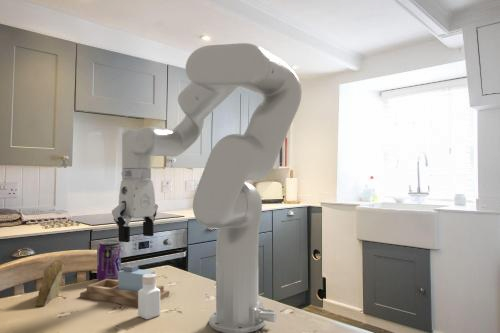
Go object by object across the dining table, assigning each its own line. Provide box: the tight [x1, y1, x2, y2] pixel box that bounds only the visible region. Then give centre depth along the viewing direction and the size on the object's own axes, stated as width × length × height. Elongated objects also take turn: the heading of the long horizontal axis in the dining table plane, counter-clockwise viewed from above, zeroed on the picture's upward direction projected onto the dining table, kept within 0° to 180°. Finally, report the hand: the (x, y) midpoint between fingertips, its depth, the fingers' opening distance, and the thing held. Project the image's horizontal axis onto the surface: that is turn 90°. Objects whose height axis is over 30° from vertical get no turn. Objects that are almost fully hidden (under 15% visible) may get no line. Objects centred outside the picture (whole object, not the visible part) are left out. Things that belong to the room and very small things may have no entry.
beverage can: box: [96, 239, 122, 281], centre depth 116 cm, size 7×7×12 cm
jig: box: [79, 279, 170, 307], centre depth 99 cm, size 22×10×3 cm, turn 68°
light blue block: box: [117, 264, 156, 292], centre depth 98 cm, size 9×4×7 cm, turn 68°
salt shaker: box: [137, 273, 161, 320], centre depth 85 cm, size 4×4×10 cm
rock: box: [34, 260, 65, 307], centre depth 97 cm, size 11×9×10 cm
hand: (136, 238), depth 98 cm, fingers open, 9 cm apart
